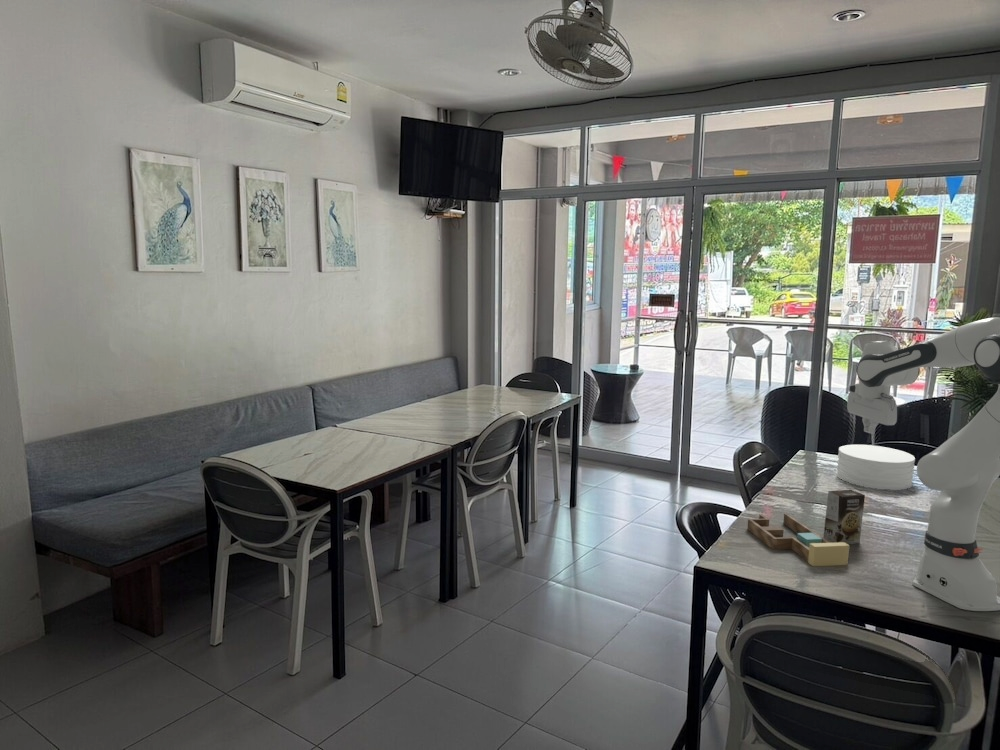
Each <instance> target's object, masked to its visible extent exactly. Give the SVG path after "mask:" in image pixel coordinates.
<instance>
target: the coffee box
mask: <svg viewBox="0 0 1000 750" xmlns="http://www.w3.org/2000/svg"><path fill="white" fill-rule="evenodd" d="M865 497H866V495H865V494H864V493H860V492H858V491H855V490H852V489H842V490H841V489H838V490H828V491H827V502H826V509H825V517H824V518H825V519H824V527H823V535H822V537H823V538H824V539H826V540H827V541H829V542H830V543H837V542H845V543H846V544H848V545H854V544H860V542H861V535H862V534H861V533H862V524H863V515H864V506H865Z"/></svg>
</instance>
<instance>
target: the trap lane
mask: <svg viewBox="0 0 1000 750" xmlns="http://www.w3.org/2000/svg"><path fill="white" fill-rule="evenodd" d="M782 523H783V524H784V525H785V526H786V527H788V528H789V529H790V530H792V531H793V532H795V533H796V534H797V533H813V534H815V535H817V536H818V537H820V538H821V539H822V543H831V542H830V541H828V540H826V539H824V538H823V536H822V535H819V534H818V533H816V532H815V531H814V530H812V529H811V528H809V527H808V526H806V525H805V524H803V523H802V522H801V521H799V520H797V519H796V518H794V517H793V516H791V515H790V514H788V513H784V514H783V522H782ZM746 529H747V530H748V531H749V532H750V533H752V534H753V535H754V536H755V537H757V538H758V539H759V540H760V541H762V542H763V543H764V544H765V545H767V546H768V547H769V548H771V550H792V551H793V552H795V553H796V554H797V555H798V556H800V557H802V559H804V560H806V561H807V562H808V557H809V548H808V547H807V546H806V545H804V544H803V543H802V542H800V541H799V540H797V537H794V536H784V532H785V530H784V529H783V528H782V527H781V526H779V525H778V526H777V525H776V526H775V525H774V526H771V525H770V519H769V518H768V517H766V515H764V514H762V513H760V514H759V515H758V518H748V519H747V527H746Z"/></svg>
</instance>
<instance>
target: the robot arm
mask: <svg viewBox="0 0 1000 750" xmlns="http://www.w3.org/2000/svg"><path fill="white" fill-rule="evenodd" d="M974 365H975V366H976V368H977V369H978V371H980V373H982V374H983V375H984V377H985V378H986V380H987V382H989V383H990V384H993V385H998V386H997V387H998V388H997V390H996V392H995V393H994V394H993V396H992V397H991V398H990V399H988V401H987V402H986V403H985V404H984V406H983V407H982V408H981V409H980V410H979V411H978V412H977V413H976V414H975V415H974V416H973V418H972V419H971V420H970V421H969V422H968V423H967V424H966V425H965V426H963V427H962V428H961V429H960V430H958V431H957V432H956V433H954V434H953V435H952V436H951V437H949V438H948V439H946V440H945V441H944V442H943V443H941V444H940V445H939V446H938V447H937V448H935V449H934V450H932V451H931V452H929V453H927V454H926V455H923V456H922V457H921V458H920V459H919V460H918V461H917V465H916V474H917V477H918V480H919V481H920V483H922V485H924V486H925V487H926V488H928V489H931V490H935V491H940V492H939V493H938V495H937V497H936V498H934V500H933V501H932V503H931V505H930V508H929V509H930V510H929V516H928V524H927V529H926V530H925V532H924V533H925V535H924V536H923V537H924V538H923V539H924V540H923V543H924V545H925V546H924V549H923V552H922V553H921V557H920V559H919V563H918V566H917V571H916V574H915V576H914V579H913V581H912V586H914V587H916V588H918V589H920V590H922V591H924V592H926V593H927V594H930V595H933V596H934V597H936V598H938V599H940V600H942V601H944V602H946V603H948V604H950V605H952V606H954V607H956V608H958V609H961V610H965V611H972V612H994V611H1000V596H998V586H997V581H996V579H995V578H994V575H993V574H992V573H991V572H990V571H989V570H988V569H987V567H986V565H985V564H984V563H983V562H982V560H981V559H980V557H979V556H980V554H981V553H983V552H982V551H983V549H984V548H978V544H977V540H976V534H977V533H976V532H977V528H978V522H979V515H980V512H981V509H982V506H983V504H984V502H985V500H986V497H987V495H988V493H989V490H990V488H991V487H992V485H993V484H994V482H995V481H996V480H997V479H998V478H999V477H1000V317H999V316H997V317H996V316H995V317H994V316H993V317H988V318H983V319H979V320H975V321H972V322H969V323H965V324H963V325H960V326H957V327H955V328H953V329H951V330H947V331H946V332H942V334H938V335H936V336H934V337H930V338H928V339H926V340H923V341H921V342H919V343H916V344H913V345H910V346H907V347H903V348H901V349H898V348H897V347H896V346H895V344H894V343H893V342H892V341H889V340H876V341H875V340H872V341H869V342H867V343H865V345H864V348H863V349H862V355H861V359H860V360H859V361H858V363H857V365H856V375H857V377H858V383H854V384H849V385H848V388H847V389H848V392H849V393H848V395H847V401H846V402H847V403H846V405H847V406H846V409H847V412H848V413H849V414H852V415H855V416H858V417H861V418H862V419H861V421H862V423H863V432H865V433H868V434H871V435H872V434H875V432H876V428H877V426H878V425H879V424H881V425H884V426H895V424H896V423H897V422H898V407H897V401H896V399H895V398H894V396H893V395H892V394H890V387H893V386H906V385H907V386H908V385H911V384H912V385H913V383H915V382H916V381H917V380H918V378H919V375H920V371H921V369H920V368H961V367H967V366H974Z"/></svg>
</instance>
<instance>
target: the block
mask: <svg viewBox="0 0 1000 750" xmlns="http://www.w3.org/2000/svg"><path fill="white" fill-rule="evenodd" d="M796 539H797V540H799V541H800V542H802V543H803V544H804V545H806V546H807V547H808V548H809V546H810V543H822V539H821V538H820V537H818V536H817V535H815V534H813V533H796Z"/></svg>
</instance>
